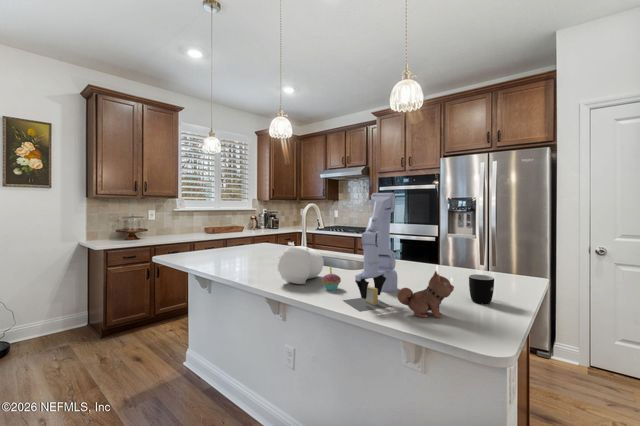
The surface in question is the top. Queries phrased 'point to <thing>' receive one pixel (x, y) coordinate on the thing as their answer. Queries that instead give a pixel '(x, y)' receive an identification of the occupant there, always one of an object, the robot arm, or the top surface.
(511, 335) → the top surface
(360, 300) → the mat
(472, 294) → the mug
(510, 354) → the top surface
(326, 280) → the cupcake
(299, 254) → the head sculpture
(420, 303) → the figurine
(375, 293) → the card box
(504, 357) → the top surface
